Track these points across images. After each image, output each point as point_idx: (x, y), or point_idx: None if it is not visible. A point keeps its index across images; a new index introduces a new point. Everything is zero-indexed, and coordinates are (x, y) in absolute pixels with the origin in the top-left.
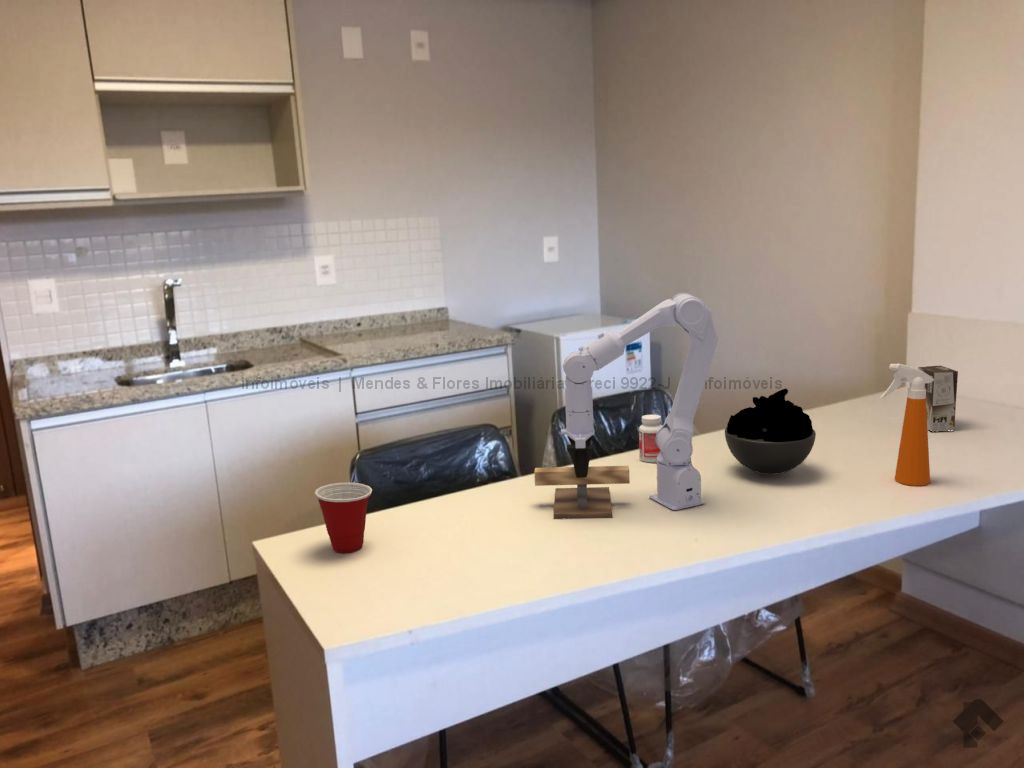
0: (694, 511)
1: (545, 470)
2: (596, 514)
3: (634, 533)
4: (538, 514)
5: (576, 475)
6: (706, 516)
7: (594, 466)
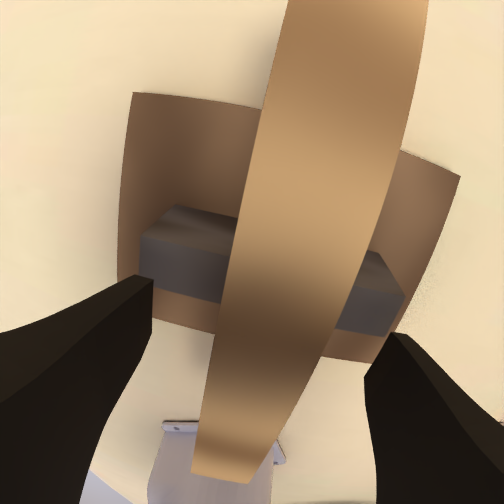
0: (161, 440)
1: (332, 43)
2: (118, 257)
3: (36, 307)
4: (209, 35)
5: (124, 280)
6: (134, 439)
7: (290, 413)
